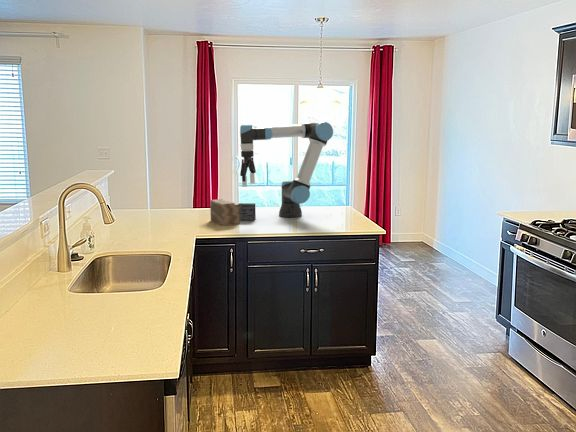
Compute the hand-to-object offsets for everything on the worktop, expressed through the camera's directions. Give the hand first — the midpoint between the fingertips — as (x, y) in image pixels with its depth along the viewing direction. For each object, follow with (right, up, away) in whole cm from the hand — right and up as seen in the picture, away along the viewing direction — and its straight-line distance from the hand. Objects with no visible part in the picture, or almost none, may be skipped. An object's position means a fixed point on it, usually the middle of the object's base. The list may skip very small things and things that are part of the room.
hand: (248, 185), depth 358 cm
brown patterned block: (-15, -23, +3) cm, 28 cm away
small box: (-2, -22, +12) cm, 25 cm away
